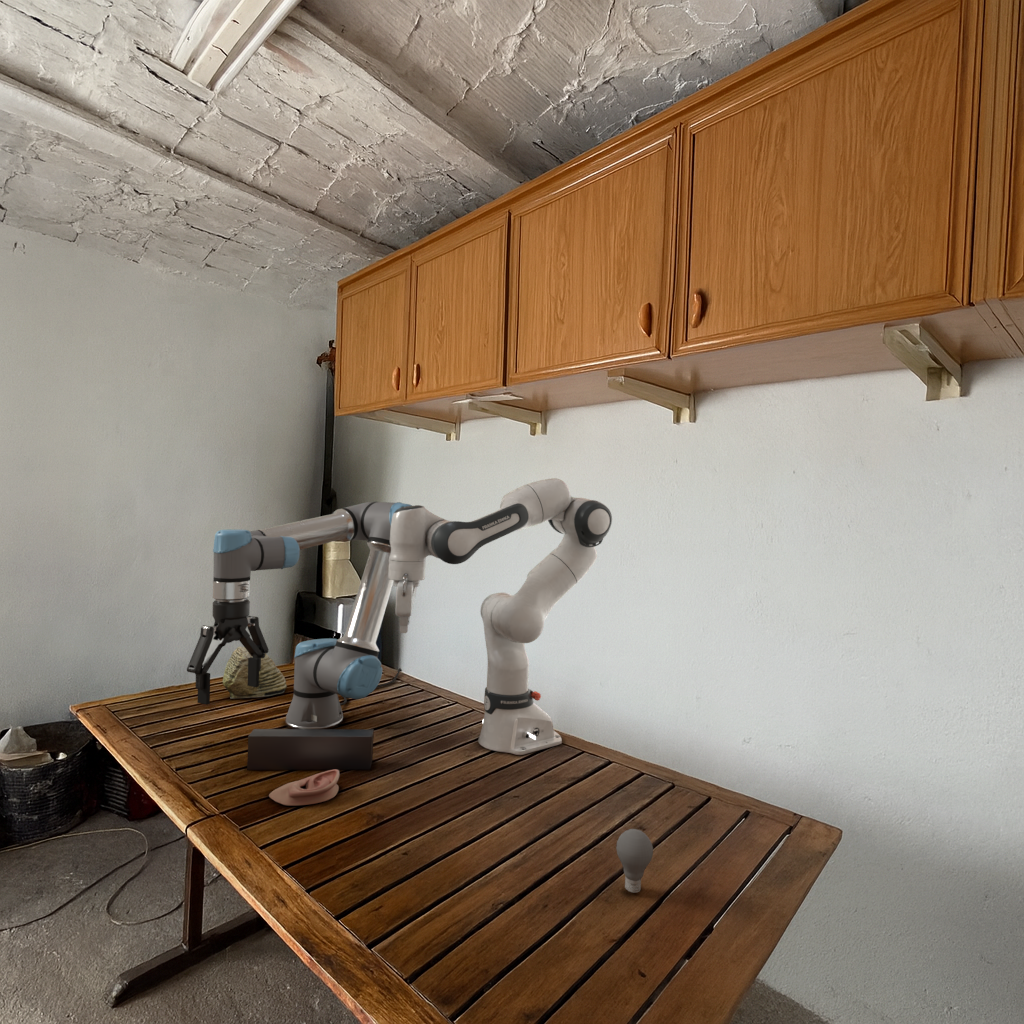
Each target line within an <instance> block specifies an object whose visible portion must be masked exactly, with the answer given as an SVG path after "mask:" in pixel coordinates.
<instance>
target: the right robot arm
mask: <svg viewBox="0 0 1024 1024" xmlns="http://www.w3.org/2000/svg"><path fill="white" fill-rule="evenodd" d="M547 521H548V523H549V525H550V527H551V528H552V529H553V530H554V531H555V532H557V533H558V534H562V535H563V537H562V539H561V541H560V543H559V544H558V546H557V547H556V548H554V549H553V550H552V551H550V552H549V554H547V555H546V556H545V557H544V558H543V559H542V560H541V561H540V562H538V563H537V564H536V565H535V566H534V567H533V568H531V570H530V571H528V572H527V574H526V579H525V581H524V582H523V584H522V585H521V587H520V588H519V589H518V591H517V592H516V593H514V594H511V593H508V592H496V593H495V592H494V593H491V594H489V595H487V596H486V597H485V598H484V599H483V601H482V603H481V605H480V611H479V612H480V617H481V620H482V623H483V631H484V633H483V634H484V641H485V648H486V656H487V657H486V659H487V664H486V665H487V668H486V687H485V688H484V698H483V709H484V715H483V719H482V725H481V730H480V733H479V736H478V739H477V743H478V744H479V745H480V746H481V747H482V748H485V749H487V750H489V751H494V752H500V753H509V754H513V755H517V756H523V755H527V754H530V753H534V752H538V751H541V750H545V749H548V748H552V747H555V746H559V745H561V744H563V739H562V736H561V735H560V734H559V733H558V732H556V730H555V729H554V723H553V719H552V717H551V716H550V715H549V714H548V713H547V712H546V711H545V710H543V709H542V708H541V707H540V706H539V705H537V703H535V702H534V700H535V701H540V699H541V698H542V695H541V693H540V692H538V691H535V690H532V689H530V688H529V675H530V659H529V656H528V653H527V649H526V645H525V644H530V643H533V642H534V641H536V640H537V639H538V638H539V637H540V636H541V634H542V632H543V631H544V626H545V621H546V619H547V618H548V616H549V614H550V613H551V611H552V610H553V609H554V607H555V606H556V604H557V603H558V602H559V601H561V599H562V598H563V597H565V596H566V595H567V593H569V592H570V590H572V589H573V588H574V587H575V586H576V585H577V584H578V583H579V582H580V581H581V580H582V579H583V578H584V577H585V576H586V574H587V573H588V572H589V571H590V570H591V569H592V567H593V566H594V564H595V563H596V561H597V560H598V559H597V558H598V552H597V549H596V547H597V546H599V545H601V544H602V542H603V540H604V539H605V537H606V536H607V535H608V533H609V532H610V530H611V527H612V524H613V516H612V512H611V510H610V509H609V507H608V506H607V505H605V504H604V503H602V502H601V501H599V500H594V499H590V498H586V497H576V496H572V494H571V491H570V488H569V486H568V484H567V483H566V482H565V481H563V480H562V479H561V478H557V477H552V478H546V479H541V480H536V481H533V482H530V483H526V484H524V485H522V486H519V487H516V488H514V489H512V490H511V491H508V492H507V493H506V494H504V495H503V496H502V499H501V500H500V505H499V509H497V510H495V511H493V512H490V513H488V514H486V515H484V516H481V517H479V518H477V519H474V520H471V521H459V520H458V521H457V520H447V519H445V518H442V517H440V516H438V515H436V514H434V513H432V512H431V511H429V510H428V509H427V508H426V507H425V506H424V505H419V504H418V505H417V504H415V505H412V506H406V507H402V508H399V509H397V510H396V511H395V512H394V514H393V516H392V521H391V528H390V545H391V553H390V556H389V572H388V578H389V579H391V580H393V586H394V587H396V593H395V610H394V611H395V616H396V617H398V620H399V633H400V634H407V633H408V627H409V625H410V620H411V619H410V618H411V616H412V614H413V609H414V604H415V601H416V595H417V589H418V587H420V583H421V581H424V580H425V579H426V563H427V562H426V561H427V560H426V559H427V557H429V556H432V557H434V558H436V559H440V560H441V561H442V562H444V563H446V564H450V565H459V564H462V563H465V562H466V561H468V560H469V559H470V558H471V557H473V555H474V554H475V553H476V552H477V551H478V550H479V549H480V548H482V547H483V546H485V545H487V544H489V543H491V542H494V541H496V540H498V539H500V538H502V537H505V536H507V535H509V534H511V533H514V532H518V531H522V530H526V529H530V528H533V527H536V526H538V525H541V524H543V523H545V522H547Z"/></svg>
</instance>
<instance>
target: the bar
mask: <svg viewBox="0 0 1024 1024" xmlns="http://www.w3.org/2000/svg"><path fill="white" fill-rule="evenodd" d="M374 732H375V731H374V729H373V728H369V729H365V728H361V729H360V728H359V729H357V728H356V729H355V728H353V729H351V728H349V729H347V728H333V729H289V728H254V729H252V731H251V732H250V733H249V735H248V736H247V739H248V740H247V758H246V759H247V760H246V762H247V763H246V770H247V771H312V770H313V771H314V770H315V771H317V770H319V771H321V770H322V771H323V770H324V771H329V770H333V769H337V770H339V771H341V770H342V771H343V770H344V771H345V770H348V771H349V770H352V771H353V770H354V771H355V770H356V771H357V770H360V771H362V770H371V767H372V764H373V758H374V757H373V754H374V753H373V752H374Z"/></svg>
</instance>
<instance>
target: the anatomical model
mask: <svg viewBox="0 0 1024 1024" xmlns="http://www.w3.org/2000/svg"><path fill="white" fill-rule="evenodd" d="M339 780H340V770H337V769H333V770H324V771H321V772H319V773H316V774H313V775H310V776H307V777H305V778H302V779H299V780H295V781H292V782H288V783H286V784H283V785H281V786H279V787H277V788H275V789H273V791H270V793H269V794H268V797H269V798H270V799H271V800H273V802H275V803H278V804H280V805H283V806H288V807H289V806H290V807H291V806H293V807H295V806H296V807H297V806H306V805H314V804H318V803H322V802H326V801H329V800H331V799H333V798H334V797H335V796H336V795H337V794H338V793H339V789H340V787H339V784H337V783H338V782H339Z"/></svg>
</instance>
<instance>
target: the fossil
mask: <svg viewBox="0 0 1024 1024" xmlns="http://www.w3.org/2000/svg"><path fill="white" fill-rule="evenodd" d="M250 657H252V656H251V655H250V653H249V652H248V651H247V650H246V648H245V647H244V646H238V647H237V648H236V649H235V650H233V651H232V653H231V656H230V657H229V659H228V660H227V663H226V666H225V668H224V671H223V675H222V676H223V677H222V685H223V687H224V688H225V690H226V691H228V693H229V698H230V699H250V698H264V697H271V696H275V695H281V694H284V693H285V691H286V689H287V687H288V686H287V680H286V678H285V676H284V674H283V673H282V672H281V669H279V668H278V667H277V665H276V663H275V662H274V660H273V659H272V658H271V657H270V656H269V655H268V653H265V657H264V658H261V670H260V671H259V687H252V686H248V658H250ZM252 658H253V657H252Z"/></svg>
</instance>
